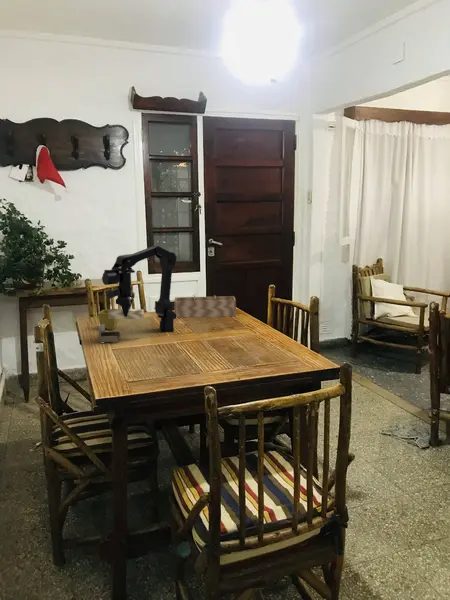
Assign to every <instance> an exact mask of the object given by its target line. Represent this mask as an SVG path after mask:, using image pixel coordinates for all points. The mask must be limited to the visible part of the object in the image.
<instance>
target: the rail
mask: <svg viewBox="0 0 450 600" xmlns="http://www.w3.org/2000/svg"><path fill="white" fill-rule="evenodd" d="M107 310H108V319H119V320H143V319H144V318H145V314H144V313H145V310H144V309H143V308H142V309H141V308H140V309H139V308H138V309H137V308H130V309H129V311H128V314H127V317H124V314H123V310H122V308H110V309H107Z"/></svg>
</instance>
